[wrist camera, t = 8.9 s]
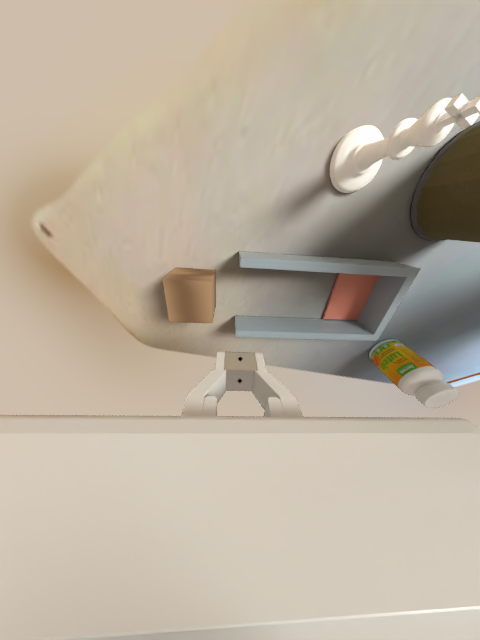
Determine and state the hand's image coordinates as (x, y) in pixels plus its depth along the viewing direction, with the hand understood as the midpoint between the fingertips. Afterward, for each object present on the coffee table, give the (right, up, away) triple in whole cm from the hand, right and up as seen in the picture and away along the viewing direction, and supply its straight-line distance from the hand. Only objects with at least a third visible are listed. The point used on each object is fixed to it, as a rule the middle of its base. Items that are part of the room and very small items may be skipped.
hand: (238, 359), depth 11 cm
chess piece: (+12, +19, +6) cm, 23 cm away
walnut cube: (-6, +7, +12) cm, 15 cm away
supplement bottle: (+26, -3, +19) cm, 32 cm away
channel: (+10, +6, +13) cm, 17 cm away
